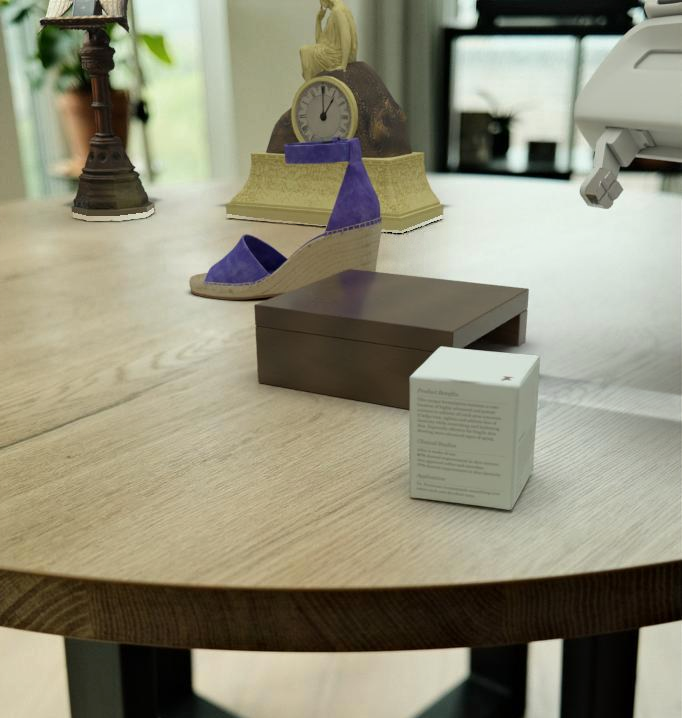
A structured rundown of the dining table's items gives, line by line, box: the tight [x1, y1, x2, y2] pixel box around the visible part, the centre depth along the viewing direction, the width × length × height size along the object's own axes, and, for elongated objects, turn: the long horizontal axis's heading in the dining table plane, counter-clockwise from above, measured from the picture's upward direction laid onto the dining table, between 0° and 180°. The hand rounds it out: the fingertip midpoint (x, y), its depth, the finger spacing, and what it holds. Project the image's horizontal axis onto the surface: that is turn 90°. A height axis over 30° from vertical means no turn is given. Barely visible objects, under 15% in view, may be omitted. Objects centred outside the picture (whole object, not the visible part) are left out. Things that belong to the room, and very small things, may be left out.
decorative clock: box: [225, 0, 444, 231], centre depth 138 cm, size 28×13×30 cm, turn 60°
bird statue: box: [37, 0, 156, 216], centre depth 140 cm, size 17×13×35 cm
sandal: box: [188, 137, 382, 301], centre depth 100 cm, size 8×20×15 cm, turn 68°
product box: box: [408, 346, 541, 511], centre depth 58 cm, size 6×6×7 cm
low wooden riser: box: [253, 269, 530, 410], centre depth 78 cm, size 16×14×6 cm
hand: (650, 211), depth 59 cm, fingers open, 8 cm apart
